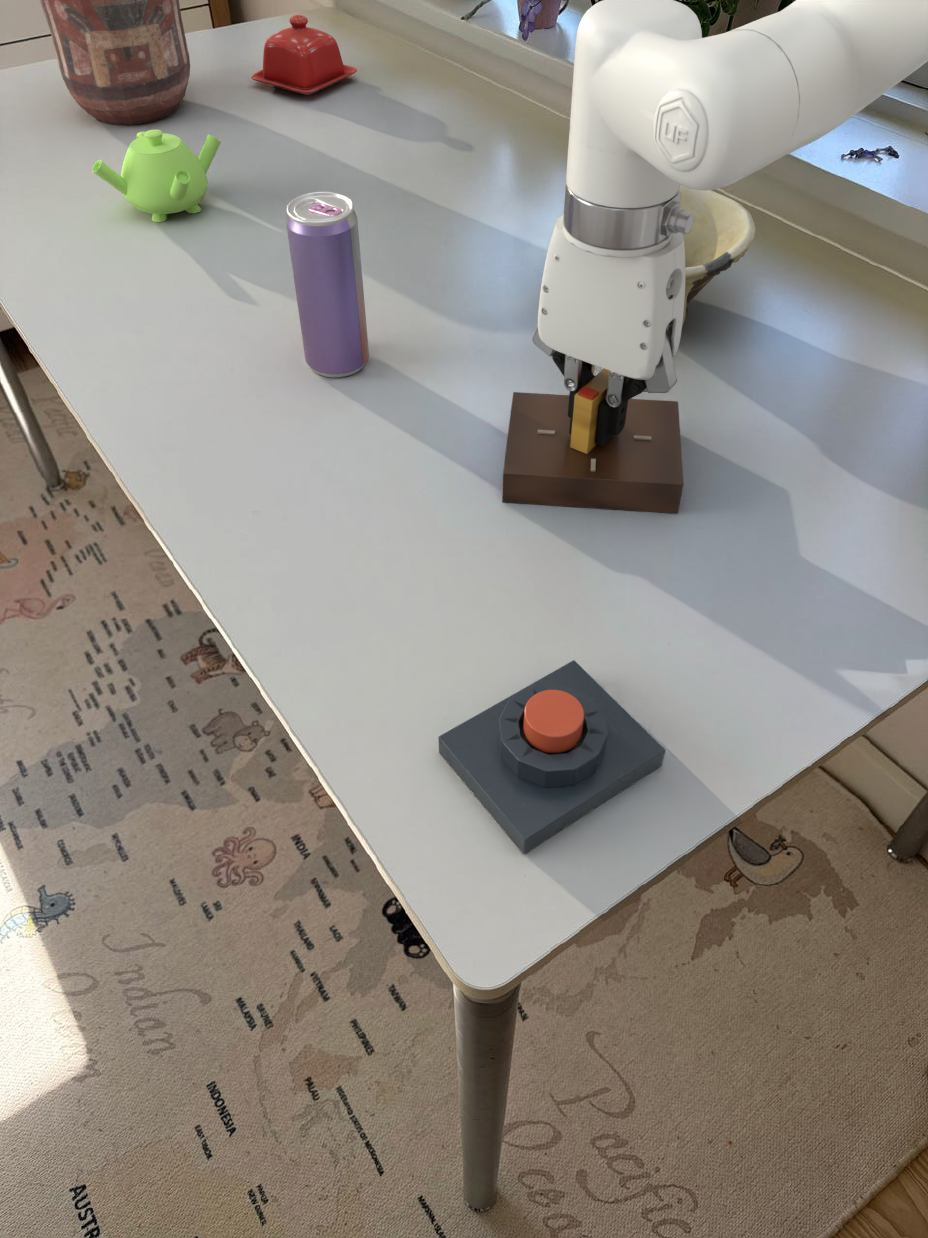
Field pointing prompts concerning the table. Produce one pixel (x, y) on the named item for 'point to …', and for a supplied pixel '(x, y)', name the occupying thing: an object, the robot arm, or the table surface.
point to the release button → (553, 721)
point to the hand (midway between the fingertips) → (594, 430)
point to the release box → (549, 759)
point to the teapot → (161, 174)
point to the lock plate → (593, 458)
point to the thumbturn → (588, 412)
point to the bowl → (712, 237)
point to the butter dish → (302, 59)
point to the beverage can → (328, 282)
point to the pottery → (121, 56)
